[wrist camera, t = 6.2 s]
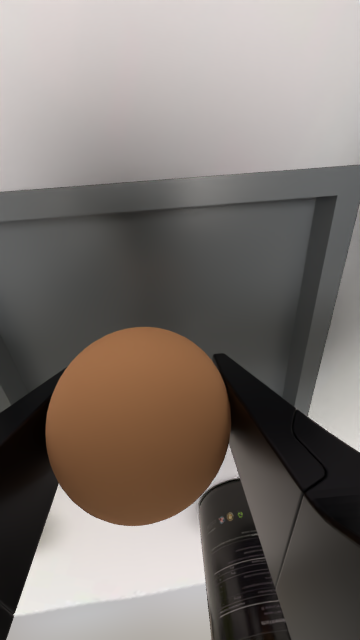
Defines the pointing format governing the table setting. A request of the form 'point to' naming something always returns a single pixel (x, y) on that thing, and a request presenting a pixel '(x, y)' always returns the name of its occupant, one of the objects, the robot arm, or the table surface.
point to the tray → (177, 270)
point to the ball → (138, 426)
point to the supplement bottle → (237, 570)
